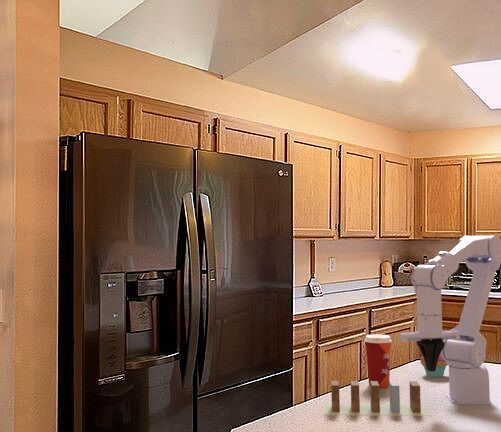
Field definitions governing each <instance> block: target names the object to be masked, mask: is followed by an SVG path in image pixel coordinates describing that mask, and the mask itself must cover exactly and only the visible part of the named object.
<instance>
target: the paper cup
mask: <svg viewBox="0 0 501 432" xmlns="http://www.w3.org/2000/svg"><path fill="white" fill-rule="evenodd" d="M364 342H365V350H366V351H365V352H366V365H367V375H368V385H369V387H370V381H378V384H379V389H384V388H389V381H390V377H391V376H390V375H391V374H390V371H391V369H390V368H391V342H393V341H392V339H391V335H388V334H379V333H376V334H374V333H373V334H367V335H365V339H364Z"/></svg>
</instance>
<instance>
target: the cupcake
mask: <svg viewBox="0 0 501 432" xmlns="http://www.w3.org/2000/svg"><path fill="white" fill-rule="evenodd" d="M419 361H420V364H421V365H422V368H423V369H424V371H425V375H426V377H430V378H442V377H444V375H445V371H446V367H447V366H448V365H447V364H446V361H445V360H444V359H443V357H442V354H441V353H440V356H439V358H438V362H437V366H436V371H428V370H427V368H426V364H425V360H424V357H423V355H421V356H420V360H419Z"/></svg>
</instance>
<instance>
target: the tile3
mask: <svg viewBox="0 0 501 432" xmlns="http://www.w3.org/2000/svg"><path fill="white" fill-rule="evenodd" d="M369 387H370V388H369V389H370V390H369V392H370V393H369V394H370V404H371V409H372V412H380V405H381V402H380V401H381V400H380V399H381V397H380V396H381V394H380V391H381V390H380V388H379V384H378V381H370V386H369Z"/></svg>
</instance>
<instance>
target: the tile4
mask: <svg viewBox="0 0 501 432" xmlns="http://www.w3.org/2000/svg"><path fill="white" fill-rule="evenodd" d="M360 400H361V399H360V383H359V381H358V380H350V404H351V408H352V412H360V404H361V403H360Z"/></svg>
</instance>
